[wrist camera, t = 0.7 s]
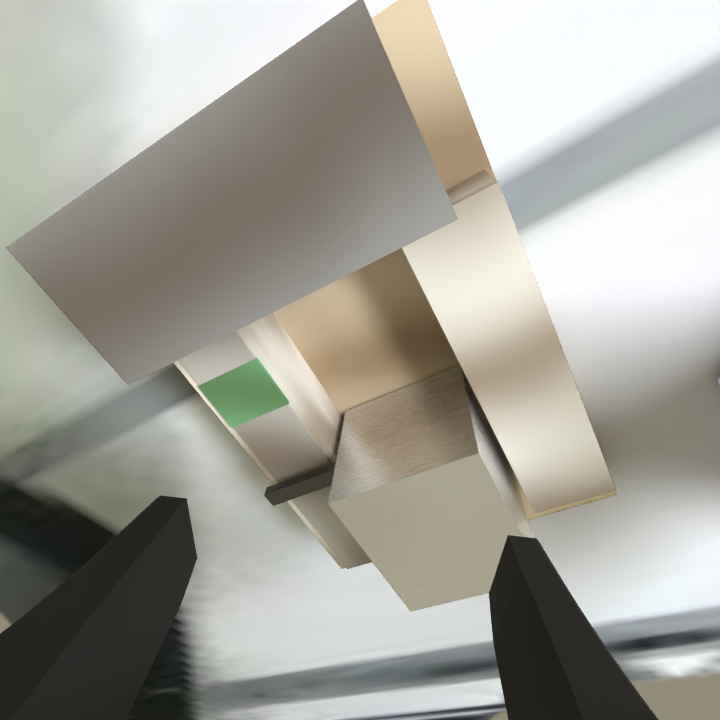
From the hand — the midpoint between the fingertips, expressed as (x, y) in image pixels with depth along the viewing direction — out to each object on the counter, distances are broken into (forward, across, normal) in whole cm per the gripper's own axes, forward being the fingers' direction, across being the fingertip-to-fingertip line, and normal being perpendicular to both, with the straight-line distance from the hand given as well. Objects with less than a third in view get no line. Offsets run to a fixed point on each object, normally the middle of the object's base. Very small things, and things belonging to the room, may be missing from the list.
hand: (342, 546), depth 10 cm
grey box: (+8, -2, +4) cm, 9 cm away
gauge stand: (+10, -1, 0) cm, 10 cm away
